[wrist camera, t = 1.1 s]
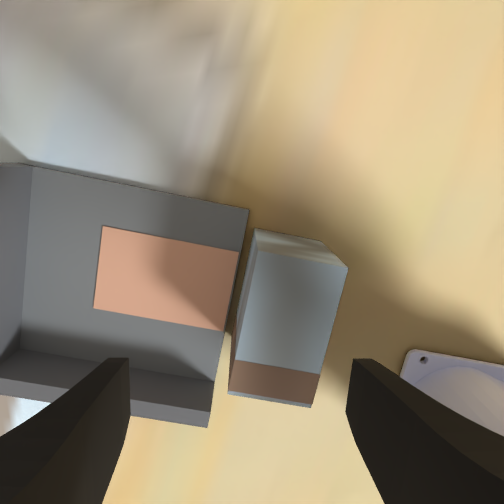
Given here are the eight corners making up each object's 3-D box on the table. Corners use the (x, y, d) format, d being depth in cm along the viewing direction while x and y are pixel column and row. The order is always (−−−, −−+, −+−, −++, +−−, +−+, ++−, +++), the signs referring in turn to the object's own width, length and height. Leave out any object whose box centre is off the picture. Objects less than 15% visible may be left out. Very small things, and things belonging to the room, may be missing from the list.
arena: (249, 209, 22) (250, 217, 18) (212, 391, 24) (207, 427, 21) (18, 162, 21) (-25, 162, 17) (6, 357, 23) (-34, 389, 20)
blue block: (320, 240, 22) (348, 268, 16) (294, 347, 24) (311, 408, 18) (253, 227, 22) (257, 250, 16) (231, 336, 23) (227, 394, 18)
